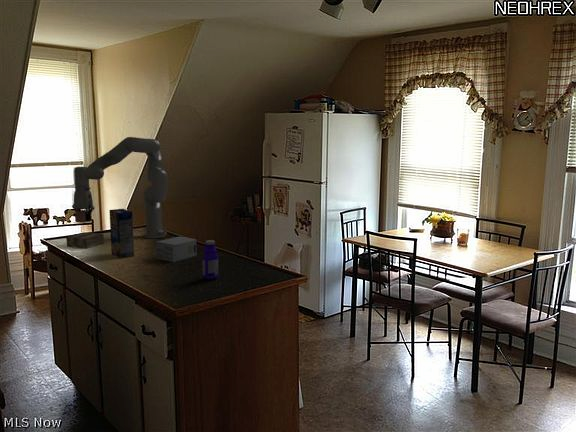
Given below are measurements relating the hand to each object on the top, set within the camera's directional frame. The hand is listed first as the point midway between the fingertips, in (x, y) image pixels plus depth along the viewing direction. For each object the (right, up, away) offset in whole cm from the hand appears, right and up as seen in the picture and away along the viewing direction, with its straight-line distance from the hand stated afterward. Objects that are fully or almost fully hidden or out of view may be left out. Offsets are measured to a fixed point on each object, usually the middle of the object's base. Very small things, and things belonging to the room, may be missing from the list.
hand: (83, 220), depth 297 cm
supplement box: (+58, -20, -23) cm, 65 cm away
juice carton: (+29, -19, -20) cm, 40 cm away
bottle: (+81, -26, -61) cm, 105 cm away
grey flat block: (0, -15, +3) cm, 15 cm away
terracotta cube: (0, -1, 0) cm, 1 cm away
